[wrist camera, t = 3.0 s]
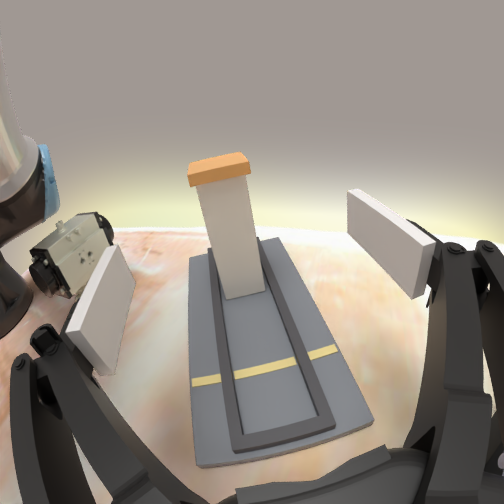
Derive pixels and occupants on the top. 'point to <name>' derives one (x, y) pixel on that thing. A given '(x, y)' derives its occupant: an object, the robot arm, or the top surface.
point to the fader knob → (229, 221)
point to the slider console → (264, 367)
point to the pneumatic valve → (70, 255)
